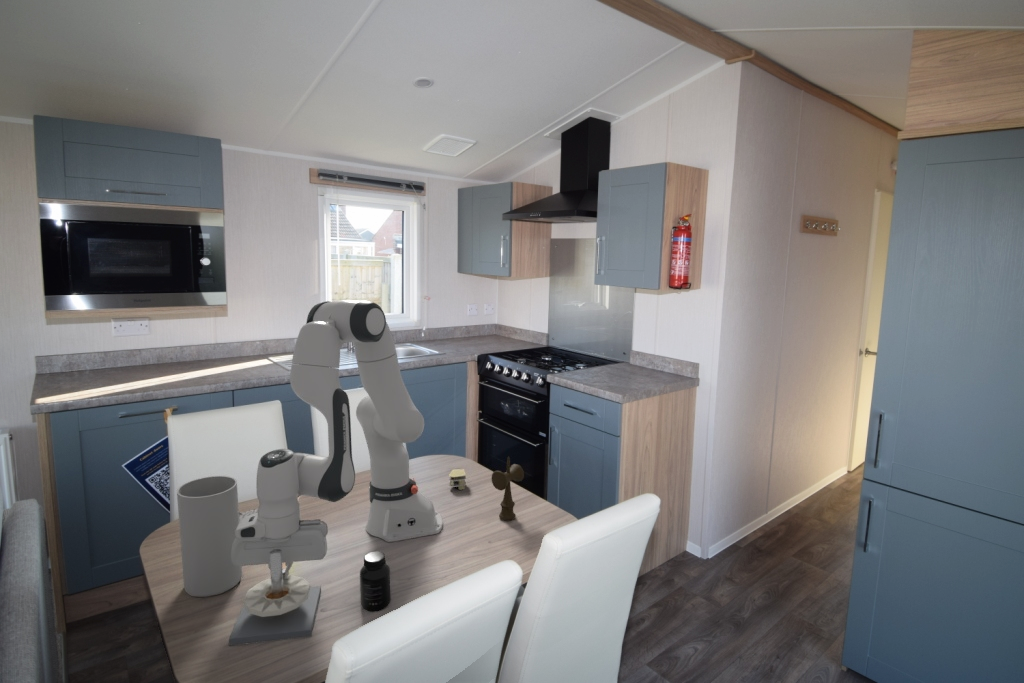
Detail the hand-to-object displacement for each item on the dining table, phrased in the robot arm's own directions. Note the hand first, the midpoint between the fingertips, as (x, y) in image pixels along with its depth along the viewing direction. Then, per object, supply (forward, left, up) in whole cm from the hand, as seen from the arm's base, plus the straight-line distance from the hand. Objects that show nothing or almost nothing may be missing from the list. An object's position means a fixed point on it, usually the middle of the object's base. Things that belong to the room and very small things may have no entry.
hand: (281, 578), depth 127 cm
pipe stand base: (0, +5, -6) cm, 8 cm away
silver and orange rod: (0, +5, -4) cm, 7 cm away
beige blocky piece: (-47, -58, -7) cm, 75 cm away
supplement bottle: (-21, +4, -6) cm, 22 cm away
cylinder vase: (+18, -11, -6) cm, 22 cm away
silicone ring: (0, +5, -1) cm, 6 cm away
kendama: (-60, -32, -6) cm, 68 cm away
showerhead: (+14, -33, -6) cm, 36 cm away
